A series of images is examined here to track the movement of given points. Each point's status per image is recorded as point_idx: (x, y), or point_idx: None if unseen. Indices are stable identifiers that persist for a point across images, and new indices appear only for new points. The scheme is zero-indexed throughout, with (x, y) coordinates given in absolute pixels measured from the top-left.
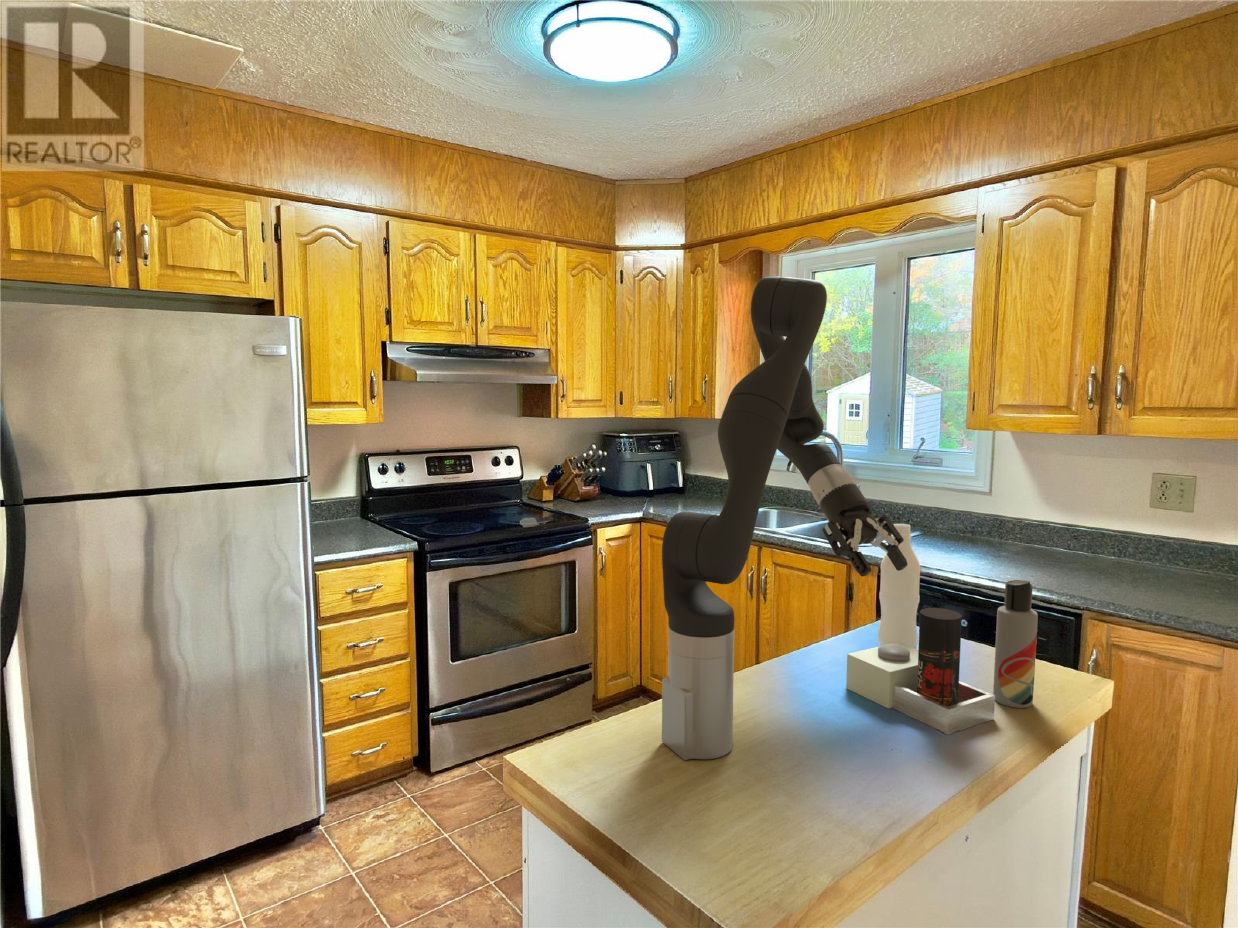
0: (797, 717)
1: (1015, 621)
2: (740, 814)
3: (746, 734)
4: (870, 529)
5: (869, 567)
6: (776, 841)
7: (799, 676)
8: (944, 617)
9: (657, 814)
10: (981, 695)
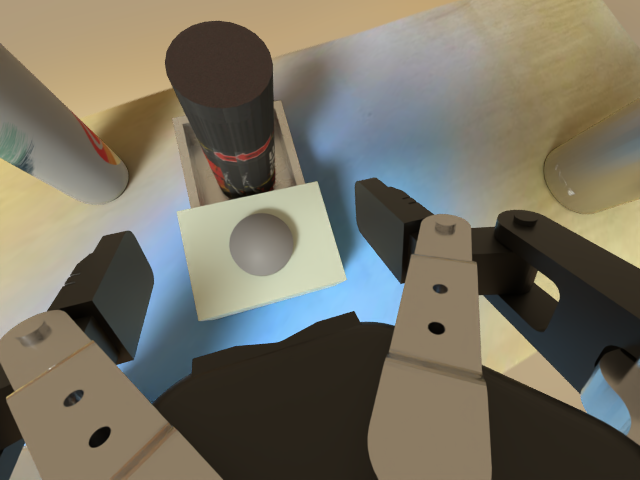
0: (447, 212)
1: (6, 49)
2: (556, 62)
3: (521, 187)
4: (210, 437)
5: (365, 181)
6: (536, 27)
7: None
8: (234, 37)
9: (622, 82)
10: (185, 135)
